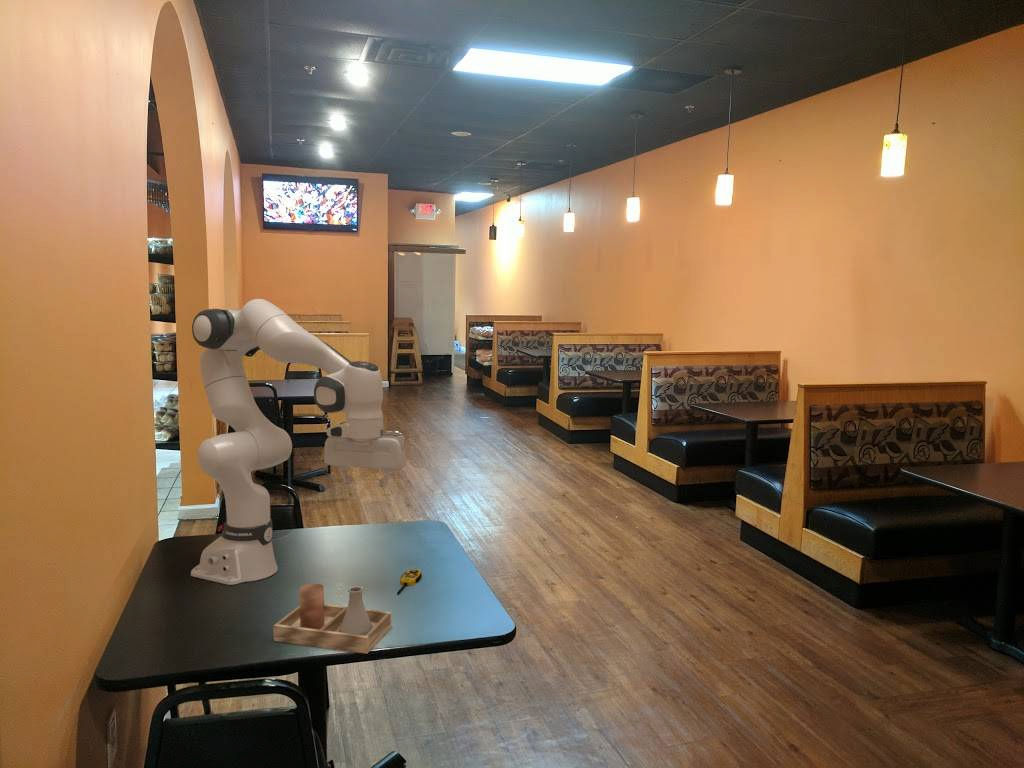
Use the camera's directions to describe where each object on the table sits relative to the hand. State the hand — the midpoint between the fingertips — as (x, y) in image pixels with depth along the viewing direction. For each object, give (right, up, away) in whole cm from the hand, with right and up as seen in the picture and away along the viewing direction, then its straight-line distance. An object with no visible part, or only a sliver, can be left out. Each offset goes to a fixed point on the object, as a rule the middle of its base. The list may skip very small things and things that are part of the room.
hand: (365, 485), depth 176 cm
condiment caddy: (-4, -31, -15) cm, 35 cm away
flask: (+1, -30, -17) cm, 35 cm away
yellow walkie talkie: (+8, -28, +14) cm, 33 cm away
